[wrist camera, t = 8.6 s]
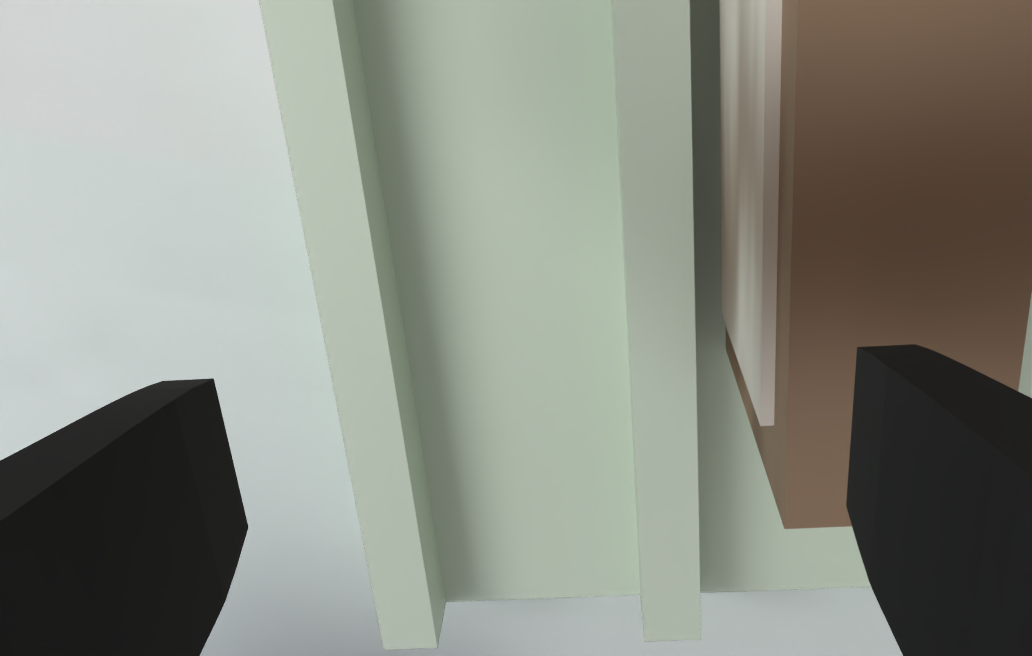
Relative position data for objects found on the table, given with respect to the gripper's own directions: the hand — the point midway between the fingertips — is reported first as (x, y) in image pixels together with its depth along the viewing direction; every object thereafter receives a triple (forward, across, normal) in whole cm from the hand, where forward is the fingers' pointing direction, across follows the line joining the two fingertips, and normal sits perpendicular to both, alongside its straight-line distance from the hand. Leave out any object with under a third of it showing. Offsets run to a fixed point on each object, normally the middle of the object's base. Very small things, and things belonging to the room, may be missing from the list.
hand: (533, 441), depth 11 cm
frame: (+8, -5, -2) cm, 10 cm away
